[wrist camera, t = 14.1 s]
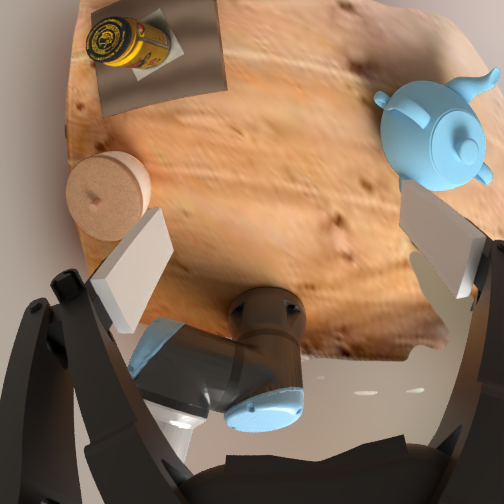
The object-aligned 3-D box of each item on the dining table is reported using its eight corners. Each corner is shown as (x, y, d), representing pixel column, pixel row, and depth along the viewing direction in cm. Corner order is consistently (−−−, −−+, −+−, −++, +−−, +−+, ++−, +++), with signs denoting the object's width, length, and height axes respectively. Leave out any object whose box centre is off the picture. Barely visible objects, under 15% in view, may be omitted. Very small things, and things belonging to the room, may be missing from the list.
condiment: (138, 81, 31) (90, 82, 21) (116, 36, 27) (65, 26, 17) (184, 54, 29) (149, 40, 19) (160, 8, 25) (120, -16, 15)
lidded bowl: (99, 136, 38) (58, 153, 28) (169, 151, 39) (139, 172, 30) (93, 205, 44) (59, 235, 35) (156, 223, 46) (130, 259, 36)
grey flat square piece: (227, 90, 34) (224, 90, 32) (113, 115, 36) (103, 117, 34) (214, -18, 25) (210, -25, 22) (101, 16, 27) (91, 13, 24)
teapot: (378, 194, 41) (417, 238, 29) (355, 70, 31) (396, 64, 20) (458, 178, 38) (508, 213, 26) (445, 65, 28) (503, 68, 16)
